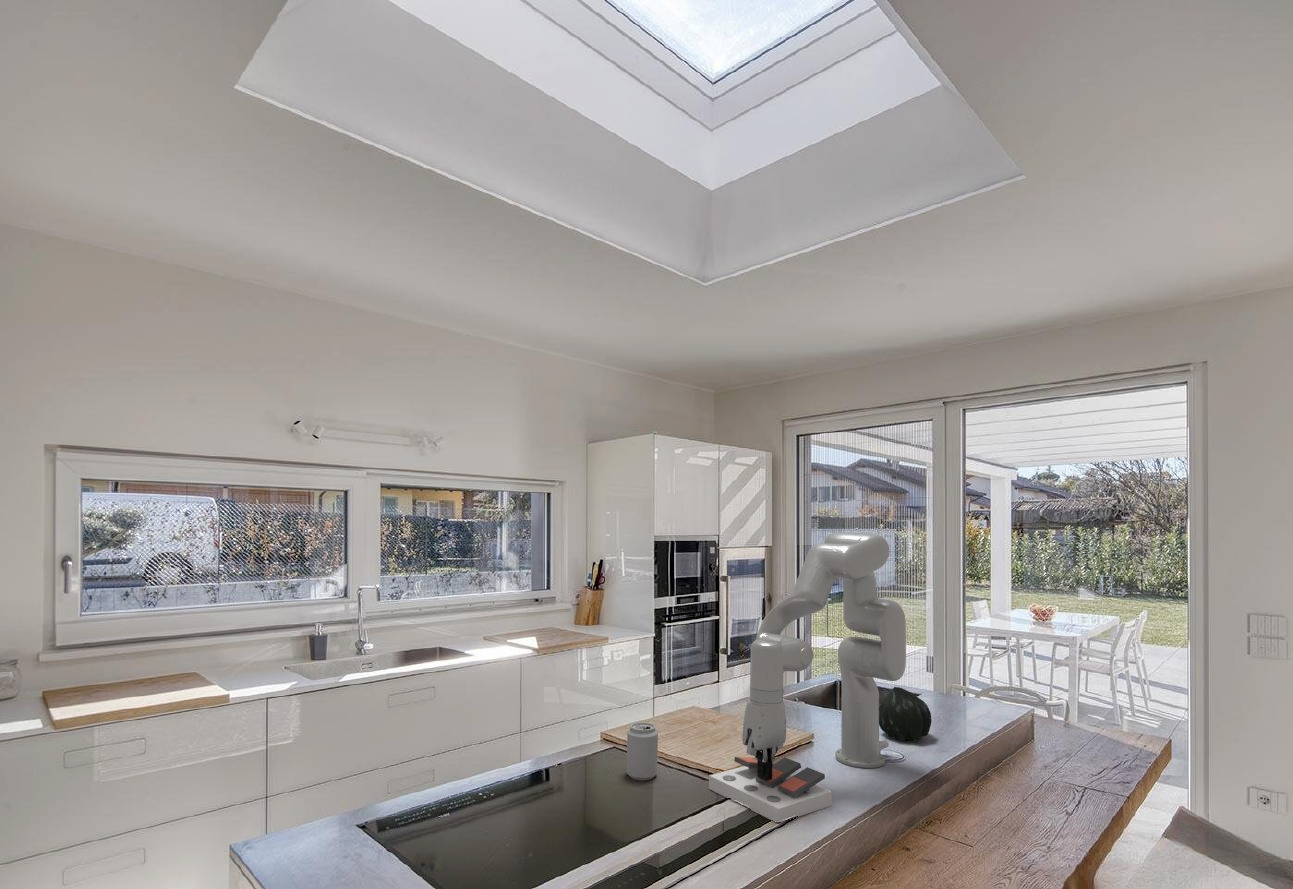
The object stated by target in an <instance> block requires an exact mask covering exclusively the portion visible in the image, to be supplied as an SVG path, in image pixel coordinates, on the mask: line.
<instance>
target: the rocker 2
mask: <svg viewBox="0 0 1293 889" xmlns="http://www.w3.org/2000/svg"><path fill="white" fill-rule="evenodd" d="M793 775H794V776H792V777H791V778H789V779H787V780H786V781H784V782H782V783H781V784H779V785H777V786H778V790H780V791H782V792H784V793H786V794H788V795H791V796H793V797H797V796H798V795H800V794H801V793H803V792H804V791H806V790H808V789H809V788H811V787H812V786H814V785H817V784H818V783H820V782H821V781H823V780H826V775H825V773H822V772H821V771H818V770H815V769H813V768H811V767H808V766H807V767H806V768H804V769H801V770H800V771H799V772H797V773H796V774H793Z"/></svg>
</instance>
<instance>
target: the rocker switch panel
mask: <svg viewBox="0 0 1293 889" xmlns="http://www.w3.org/2000/svg"><path fill="white" fill-rule="evenodd" d="M794 775H795V774H791V775H790V776H788V777H787V778H785V779H784V780H783V781H781V782H780V783H778V784H777V785H779V784H781V783H782V782H784V781H786V780H787V779H789V778H791V777H792V776H794ZM755 776H757V768H748V767H746V766H744V765H742V766H739V767H737V768H736V767H735V768H733V769H729V770H724V771H722V772H721V771H720V772H718V773H713V774H710V775H708V789H709V790H710V791H713V792H715V793H716V794H719V795H720V796H723V797H725V798H727V799H728V798H731V799H733V800H737V801H739V802H741V803H743V804H746V805H748V806H749V807H750V809H751V811H752V812H754V813H756V814H758V815H761V816H762V817H764V818H766V819H768V820H770V821H772V820H774V821H780V820H782V819H785V818H789V817H792V816H794V815H795V816H798V817H802V816H805V815H807V814H810V813H813V812H817V811H818V810H822V809H825V808H829V807H831V806H832V805H833V799H832V798H833V796H832V795H833V792H832V790H829V789H827V788H824V787H822V786H820V785H817V784H815V785H814V786H812V787H811V788H809V789H808V790H806V791H804V792H803V793H801V794H800V795H798V796H797V797H793V796H791V795H788V794H786V793H784V792H782V791H780V790H778V786H777V785H775V786H774V787H772V788H771V787H769V786H766V785H764V784H762V783H760V782H758V781H756V778H755ZM750 809H749V810H750ZM798 817H797V818H798ZM774 821H773V822H774Z"/></svg>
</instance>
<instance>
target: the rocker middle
mask: <svg viewBox="0 0 1293 889" xmlns="http://www.w3.org/2000/svg"><path fill="white" fill-rule="evenodd" d="M774 763H775V764H773V767H772V779H771V780H768V781H766V780H763V779H761V778H759V777H758V776H755V778H756V781H758V782H760V783H762V784H764V785H766V786H769V787H771V788H772V787H774V786H775V785H777V784H778V783H780V782H781V781H783V780H784V779H785V778H787V777H788V776H790V775H791V774H792V775H794V773H796V772H797V771H799V770H800V769H802V764H801V763H800V762H798V761H796V760H793V759H790V758H787V757H782V758H781V759H780V760H778V761H776V762H774Z"/></svg>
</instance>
